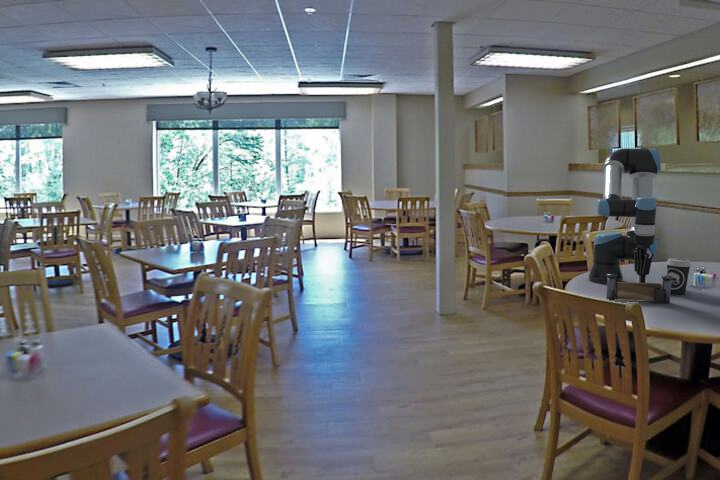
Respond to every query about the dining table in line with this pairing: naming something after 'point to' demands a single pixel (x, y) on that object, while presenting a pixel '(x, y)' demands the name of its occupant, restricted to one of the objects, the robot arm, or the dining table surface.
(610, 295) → the hinge post
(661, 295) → the post
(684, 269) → the coffee cup
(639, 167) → the robot arm
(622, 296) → the brown wooden board
